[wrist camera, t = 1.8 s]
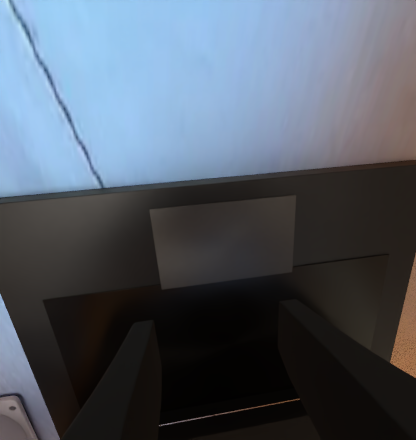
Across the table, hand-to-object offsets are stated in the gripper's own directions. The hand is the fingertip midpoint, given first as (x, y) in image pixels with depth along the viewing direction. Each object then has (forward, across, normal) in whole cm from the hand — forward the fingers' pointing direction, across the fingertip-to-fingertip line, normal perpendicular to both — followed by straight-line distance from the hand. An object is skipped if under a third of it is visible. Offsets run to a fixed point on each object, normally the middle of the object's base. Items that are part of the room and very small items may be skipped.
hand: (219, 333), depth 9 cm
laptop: (+10, -2, +7) cm, 13 cm away
